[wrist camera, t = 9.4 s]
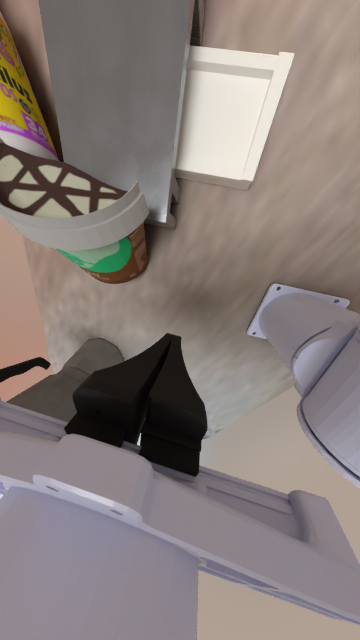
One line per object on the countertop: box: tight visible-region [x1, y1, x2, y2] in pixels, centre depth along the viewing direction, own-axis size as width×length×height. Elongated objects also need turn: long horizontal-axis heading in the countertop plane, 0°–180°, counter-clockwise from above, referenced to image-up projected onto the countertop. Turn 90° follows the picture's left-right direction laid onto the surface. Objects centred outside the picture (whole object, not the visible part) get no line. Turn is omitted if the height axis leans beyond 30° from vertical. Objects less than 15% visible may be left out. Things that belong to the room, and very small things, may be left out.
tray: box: [174, 46, 295, 190], centre depth 12 cm, size 12×6×2 cm, turn 79°
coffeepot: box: [0, 339, 124, 423], centre depth 21 cm, size 15×9×18 cm, turn 37°
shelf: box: [39, 0, 204, 230], centre depth 11 cm, size 10×16×4 cm, turn 169°
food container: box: [0, 138, 149, 284], centre depth 13 cm, size 12×6×10 cm
